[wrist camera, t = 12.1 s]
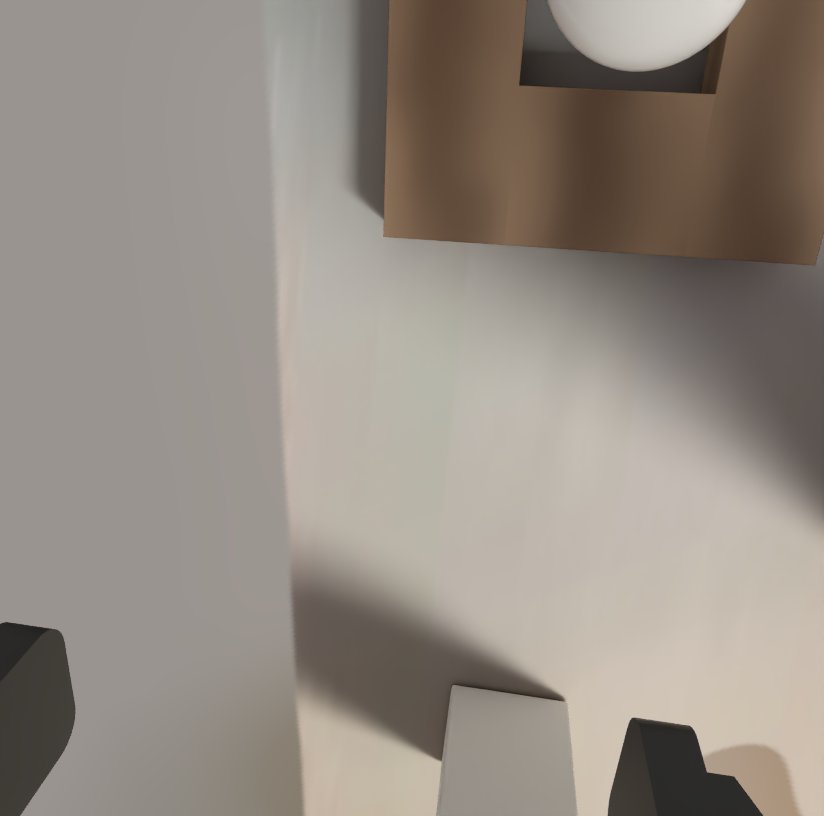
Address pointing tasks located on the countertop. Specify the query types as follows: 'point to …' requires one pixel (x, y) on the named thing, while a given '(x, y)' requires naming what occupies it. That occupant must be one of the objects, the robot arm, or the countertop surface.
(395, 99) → the holder block
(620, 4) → the lightbulb
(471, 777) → the milk carton
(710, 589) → the countertop surface
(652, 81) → the countertop surface
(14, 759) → the robot arm
